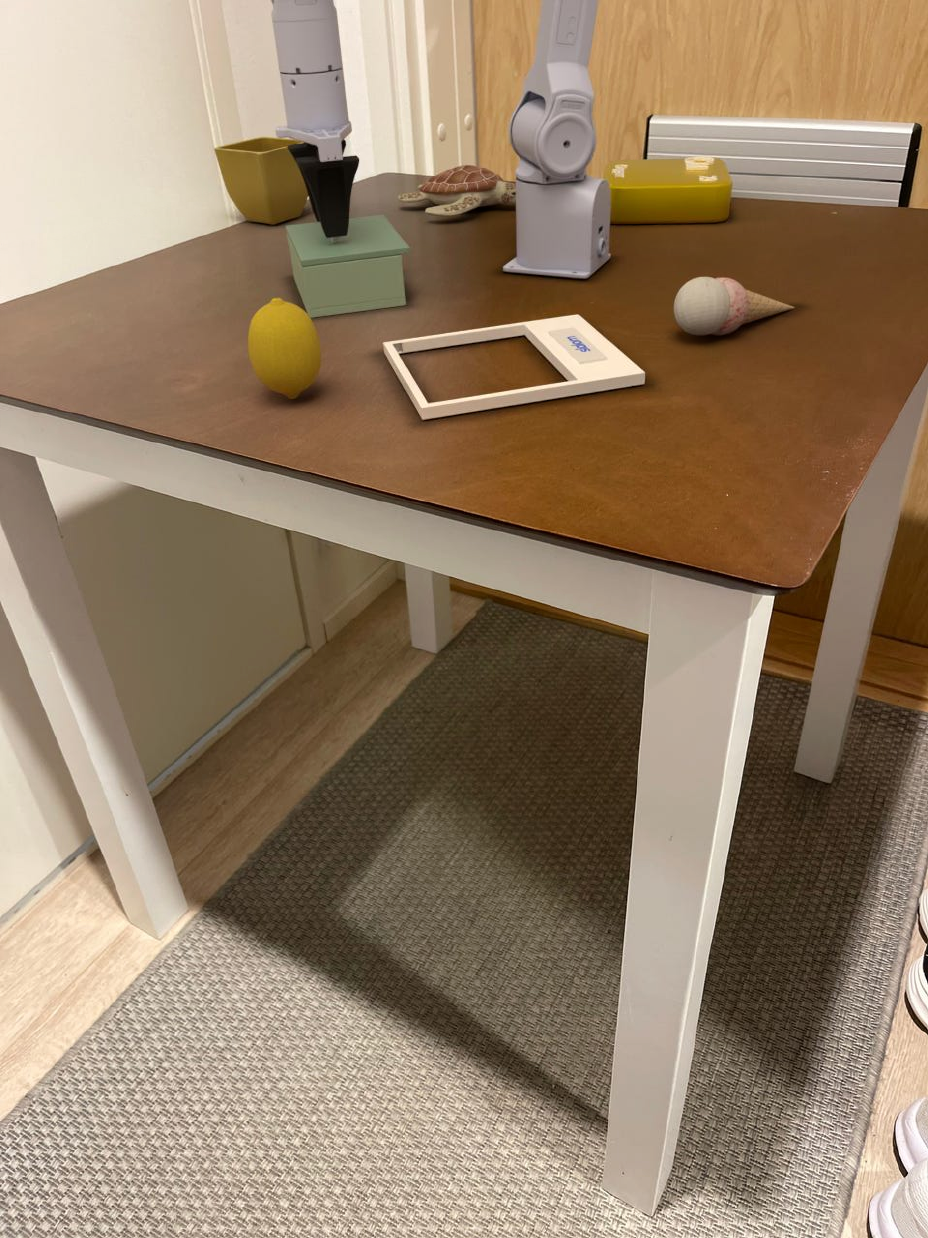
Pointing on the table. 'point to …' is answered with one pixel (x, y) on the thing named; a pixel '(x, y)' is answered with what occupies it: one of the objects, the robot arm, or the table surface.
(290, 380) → the lemon
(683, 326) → the ice cream cone
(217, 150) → the flower pot
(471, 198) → the decorative turtle
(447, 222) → the table surface
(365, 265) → the cool box
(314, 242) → the cool box lid
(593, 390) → the photo frame
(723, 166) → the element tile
